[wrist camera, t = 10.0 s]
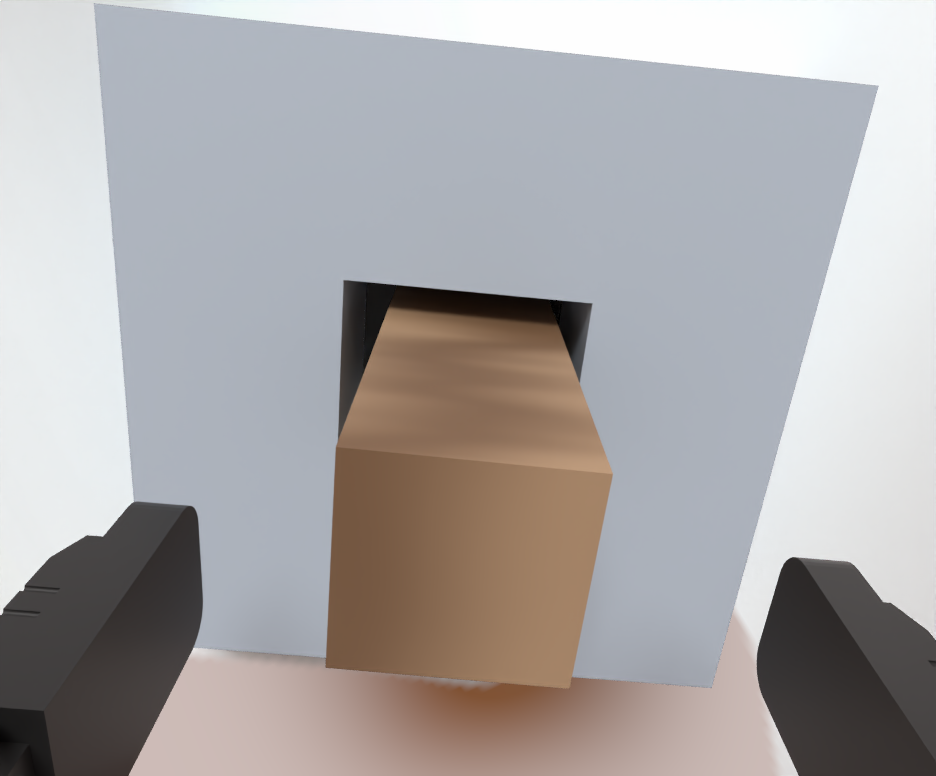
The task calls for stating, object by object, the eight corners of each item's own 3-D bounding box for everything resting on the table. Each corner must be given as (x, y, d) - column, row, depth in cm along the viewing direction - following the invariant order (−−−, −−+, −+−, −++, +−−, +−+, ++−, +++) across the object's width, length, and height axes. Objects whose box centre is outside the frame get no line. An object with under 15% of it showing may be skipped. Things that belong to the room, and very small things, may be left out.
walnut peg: (543, 286, 19) (613, 474, 10) (524, 415, 20) (569, 689, 11) (402, 271, 19) (335, 447, 10) (392, 401, 20) (325, 667, 11)
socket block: (790, 86, 17) (878, 86, 14) (671, 588, 22) (711, 687, 19) (177, 22, 17) (94, 3, 13) (200, 549, 22) (145, 643, 18)
